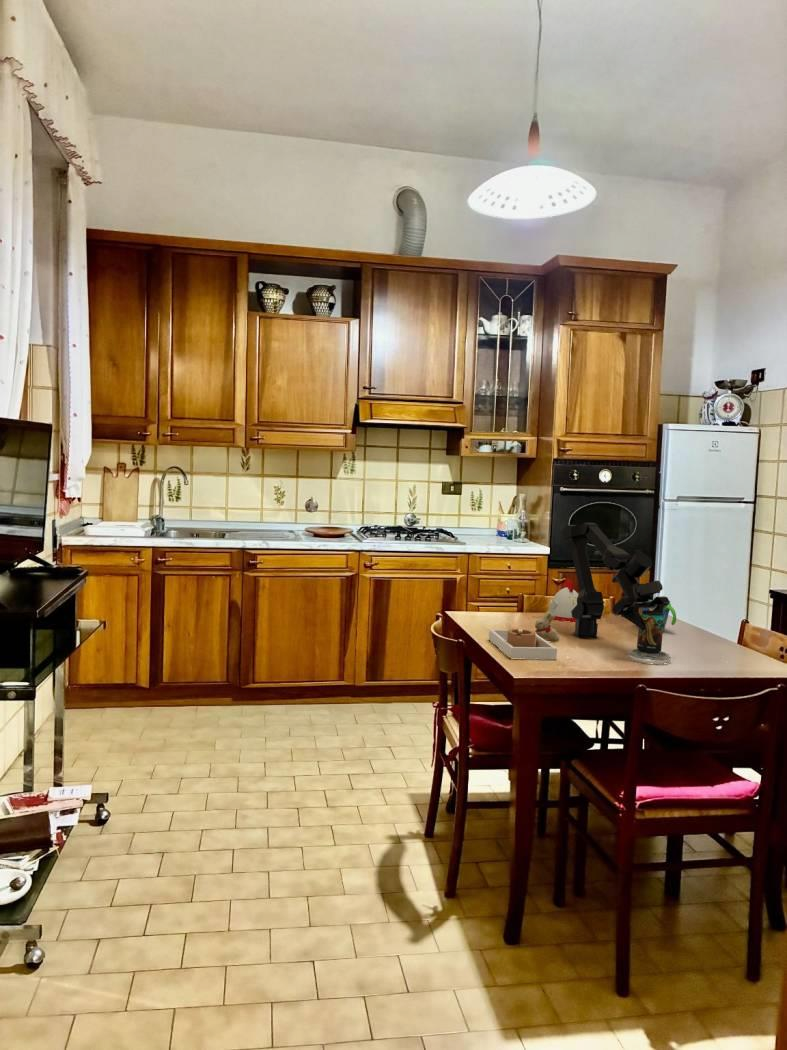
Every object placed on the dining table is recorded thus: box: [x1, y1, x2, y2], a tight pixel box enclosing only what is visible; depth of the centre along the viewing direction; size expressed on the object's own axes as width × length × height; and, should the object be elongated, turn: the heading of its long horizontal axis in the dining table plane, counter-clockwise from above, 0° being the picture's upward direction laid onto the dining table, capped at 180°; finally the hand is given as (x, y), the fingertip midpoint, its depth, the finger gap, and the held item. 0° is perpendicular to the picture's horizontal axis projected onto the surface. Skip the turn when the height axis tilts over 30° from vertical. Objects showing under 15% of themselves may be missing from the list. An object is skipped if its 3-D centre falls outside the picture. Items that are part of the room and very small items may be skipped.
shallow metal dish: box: [627, 647, 672, 664], centre depth 233 cm, size 12×12×2 cm
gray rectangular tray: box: [488, 629, 558, 660], centre depth 237 cm, size 14×24×4 cm, turn 8°
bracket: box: [507, 628, 537, 647], centre depth 237 cm, size 18×8×7 cm, turn 166°
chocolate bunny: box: [534, 610, 560, 642], centre depth 252 cm, size 6×8×10 cm
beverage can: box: [636, 610, 664, 654], centre depth 233 cm, size 7×7×12 cm
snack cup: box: [641, 599, 677, 632], centre depth 278 cm, size 16×10×10 cm
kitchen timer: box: [547, 578, 579, 623], centre depth 292 cm, size 14×14×15 cm
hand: (654, 629), depth 231 cm, fingers closed on beverage can, 7 cm apart
